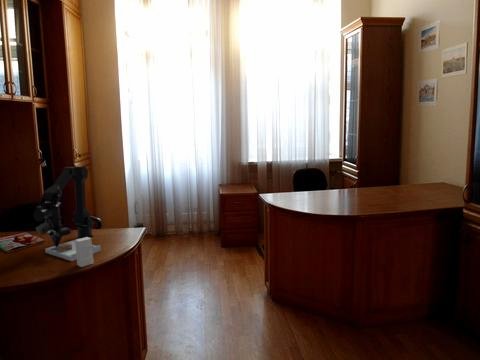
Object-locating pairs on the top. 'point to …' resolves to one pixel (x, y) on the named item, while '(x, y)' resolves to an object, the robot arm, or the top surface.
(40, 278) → the top surface
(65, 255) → the board
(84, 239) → the skincare box
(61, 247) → the brown flat block
